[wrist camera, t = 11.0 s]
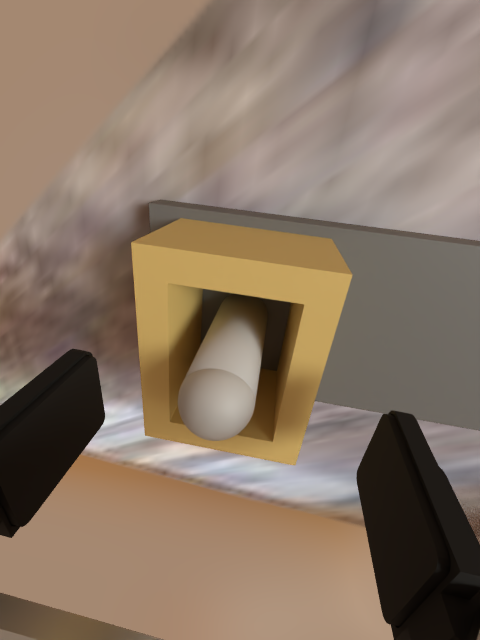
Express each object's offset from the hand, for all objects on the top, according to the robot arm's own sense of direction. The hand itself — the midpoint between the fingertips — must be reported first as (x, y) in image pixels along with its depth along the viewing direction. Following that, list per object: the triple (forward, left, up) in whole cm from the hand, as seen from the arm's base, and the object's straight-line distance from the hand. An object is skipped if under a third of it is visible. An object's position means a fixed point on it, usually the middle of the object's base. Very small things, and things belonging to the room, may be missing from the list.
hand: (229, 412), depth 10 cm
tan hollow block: (0, 0, -7) cm, 7 cm away
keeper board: (-6, 0, -8) cm, 11 cm away
